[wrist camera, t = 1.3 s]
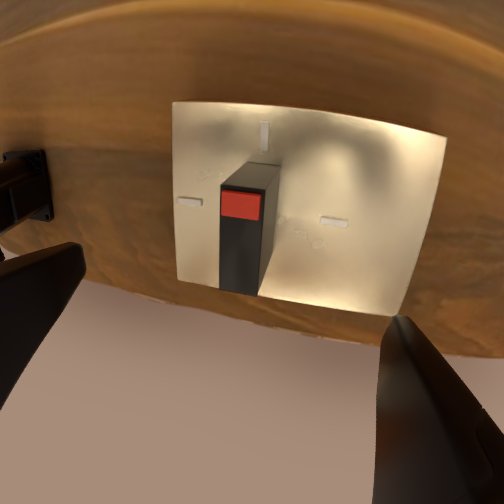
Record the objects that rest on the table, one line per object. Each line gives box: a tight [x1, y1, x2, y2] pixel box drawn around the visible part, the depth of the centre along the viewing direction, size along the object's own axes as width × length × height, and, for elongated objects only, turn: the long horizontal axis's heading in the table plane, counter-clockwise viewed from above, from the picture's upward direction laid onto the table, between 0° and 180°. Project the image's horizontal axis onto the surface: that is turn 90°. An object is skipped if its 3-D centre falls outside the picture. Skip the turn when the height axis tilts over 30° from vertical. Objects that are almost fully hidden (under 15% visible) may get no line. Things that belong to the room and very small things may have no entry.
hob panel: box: [172, 99, 448, 317], centre depth 18 cm, size 14×11×3 cm
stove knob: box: [219, 162, 280, 297], centre depth 15 cm, size 5×2×4 cm, turn 176°
